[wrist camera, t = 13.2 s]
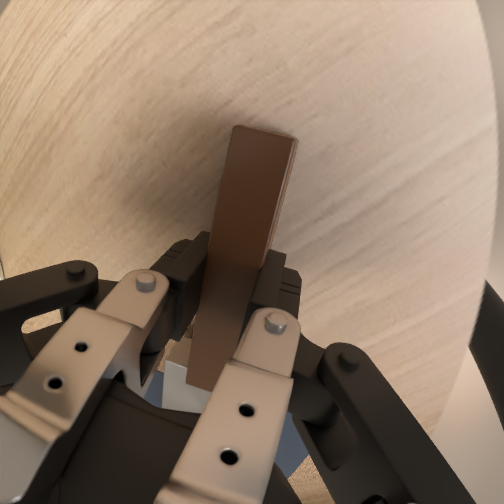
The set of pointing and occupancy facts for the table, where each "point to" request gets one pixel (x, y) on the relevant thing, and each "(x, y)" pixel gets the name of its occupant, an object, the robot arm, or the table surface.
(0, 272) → the coffee can
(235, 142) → the brown and grey bar
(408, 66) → the table surface
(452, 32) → the table surface
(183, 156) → the table surface
